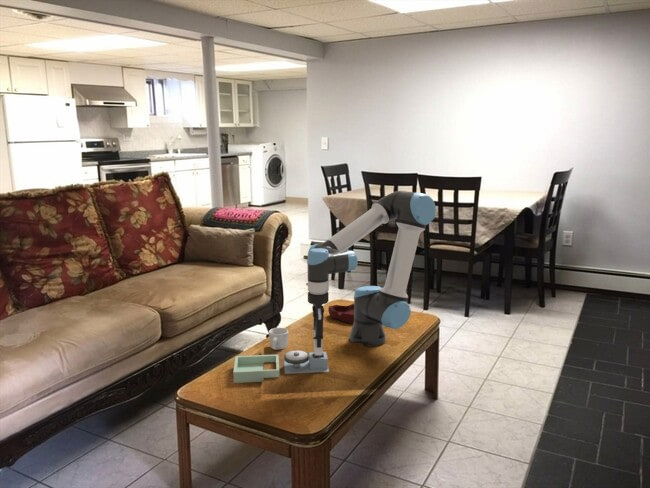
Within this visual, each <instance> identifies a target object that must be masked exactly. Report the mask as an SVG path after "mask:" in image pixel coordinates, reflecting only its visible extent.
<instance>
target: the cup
mask: <svg viewBox="0 0 650 488" xmlns="http://www.w3.org/2000/svg"><path fill="white" fill-rule="evenodd" d="M268 337H269V339H268V340H269V344H270V345H269V346H270V348H271V349H273V350H284V349H286V348H287V347H288V345H289V344H288V341H289V330H288V329H287V328H285V327H274V328H271V329H270V330H268Z"/></svg>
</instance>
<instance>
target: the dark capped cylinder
mask: <svg viewBox="0 0 650 488" xmlns="http://www.w3.org/2000/svg"><path fill="white" fill-rule="evenodd" d="M313 328H314V329H313V337H315V327H314V326H313ZM313 352H314V358H322V355H316V356H315V339H313Z"/></svg>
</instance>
